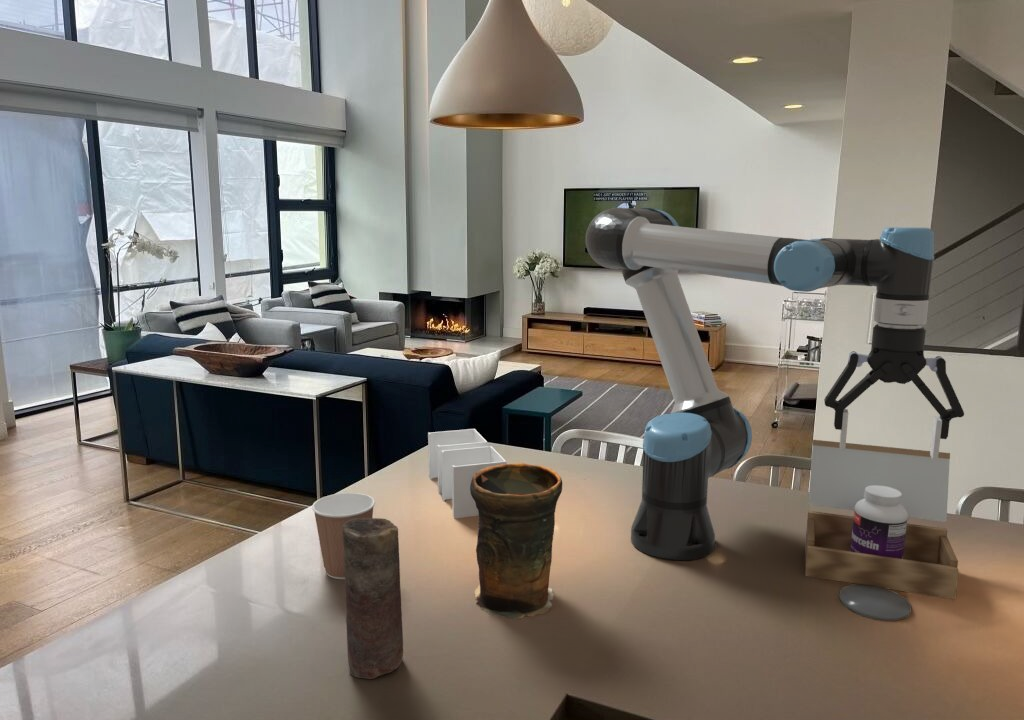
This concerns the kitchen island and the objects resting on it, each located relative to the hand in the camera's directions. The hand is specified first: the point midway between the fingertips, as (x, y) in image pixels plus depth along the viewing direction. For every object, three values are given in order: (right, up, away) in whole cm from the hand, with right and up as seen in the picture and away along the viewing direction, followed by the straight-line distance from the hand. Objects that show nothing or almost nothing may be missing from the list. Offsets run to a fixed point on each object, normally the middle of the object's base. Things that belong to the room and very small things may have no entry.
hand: (887, 453), depth 123 cm
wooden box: (0, -21, +4) cm, 21 cm away
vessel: (-61, -22, -5) cm, 65 cm away
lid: (+3, -6, +9) cm, 11 cm away
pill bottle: (0, -21, +4) cm, 21 cm away
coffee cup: (-90, -21, +4) cm, 92 cm away
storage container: (-72, -14, +39) cm, 83 cm away
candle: (-80, -26, -23) cm, 87 cm away
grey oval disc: (-5, -23, -7) cm, 24 cm away
